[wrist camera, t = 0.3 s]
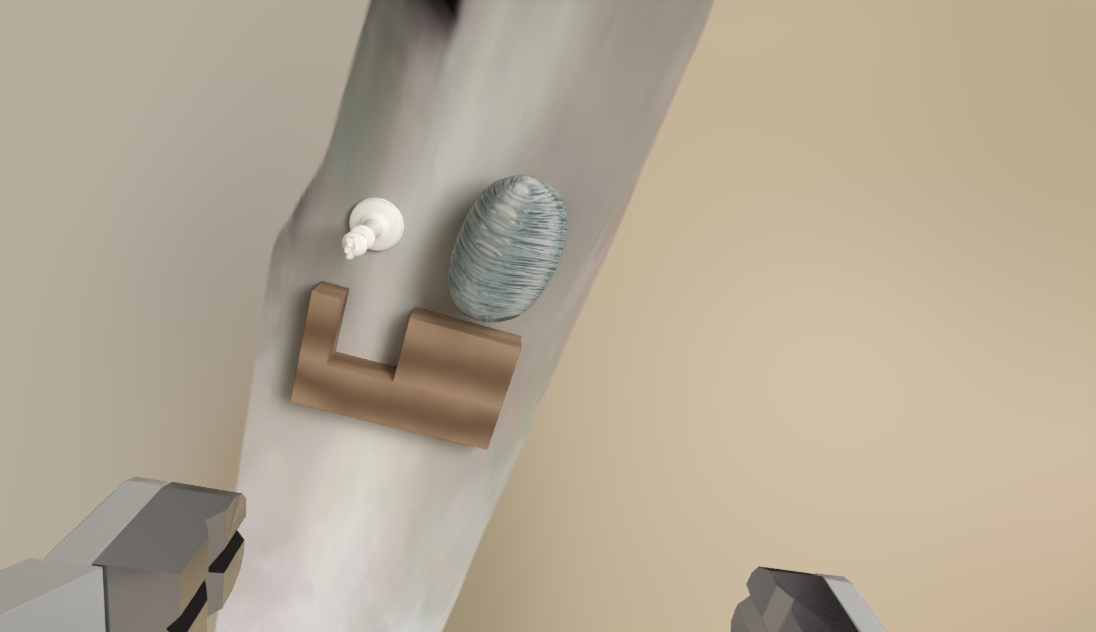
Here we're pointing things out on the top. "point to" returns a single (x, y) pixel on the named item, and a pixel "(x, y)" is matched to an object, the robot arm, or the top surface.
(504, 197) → the yarn ball
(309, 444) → the top surface
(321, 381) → the notch board
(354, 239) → the chess piece
